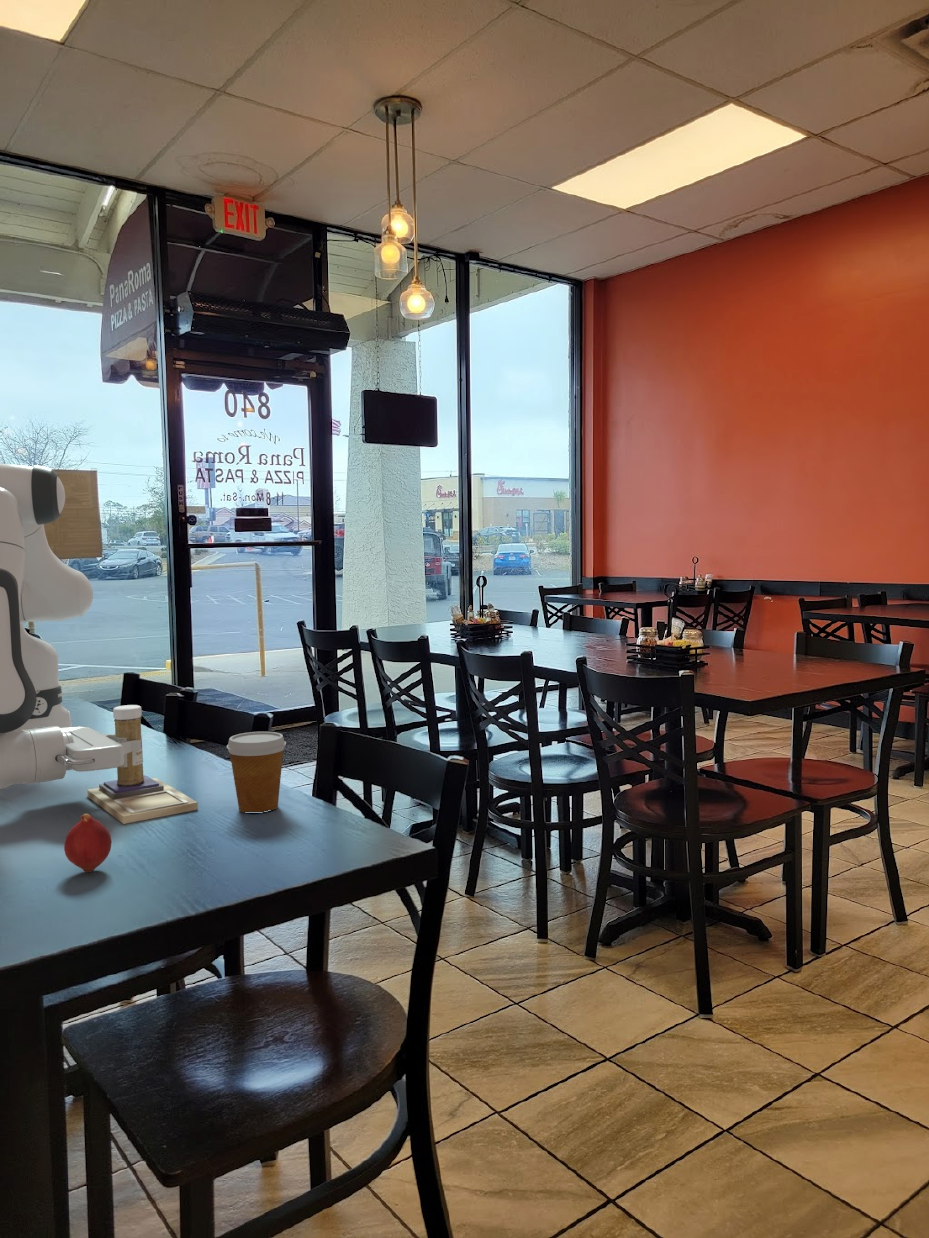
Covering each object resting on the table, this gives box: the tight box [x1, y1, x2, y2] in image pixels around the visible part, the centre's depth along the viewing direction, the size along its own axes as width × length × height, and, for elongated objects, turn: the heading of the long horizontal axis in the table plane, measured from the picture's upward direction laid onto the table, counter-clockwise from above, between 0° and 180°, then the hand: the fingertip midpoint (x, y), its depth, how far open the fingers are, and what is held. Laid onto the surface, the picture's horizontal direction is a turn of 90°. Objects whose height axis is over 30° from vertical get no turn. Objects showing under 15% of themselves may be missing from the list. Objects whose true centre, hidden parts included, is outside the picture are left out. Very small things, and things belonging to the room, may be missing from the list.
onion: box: [63, 813, 113, 873], centre depth 120 cm, size 6×6×8 cm
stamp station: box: [86, 774, 199, 825], centre depth 152 cm, size 20×12×2 cm, turn 38°
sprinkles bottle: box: [112, 704, 144, 786], centre depth 155 cm, size 5×5×13 cm
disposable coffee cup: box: [226, 731, 287, 813], centre depth 147 cm, size 10×10×12 cm
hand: (134, 741), depth 155 cm, fingers open, 4 cm apart
